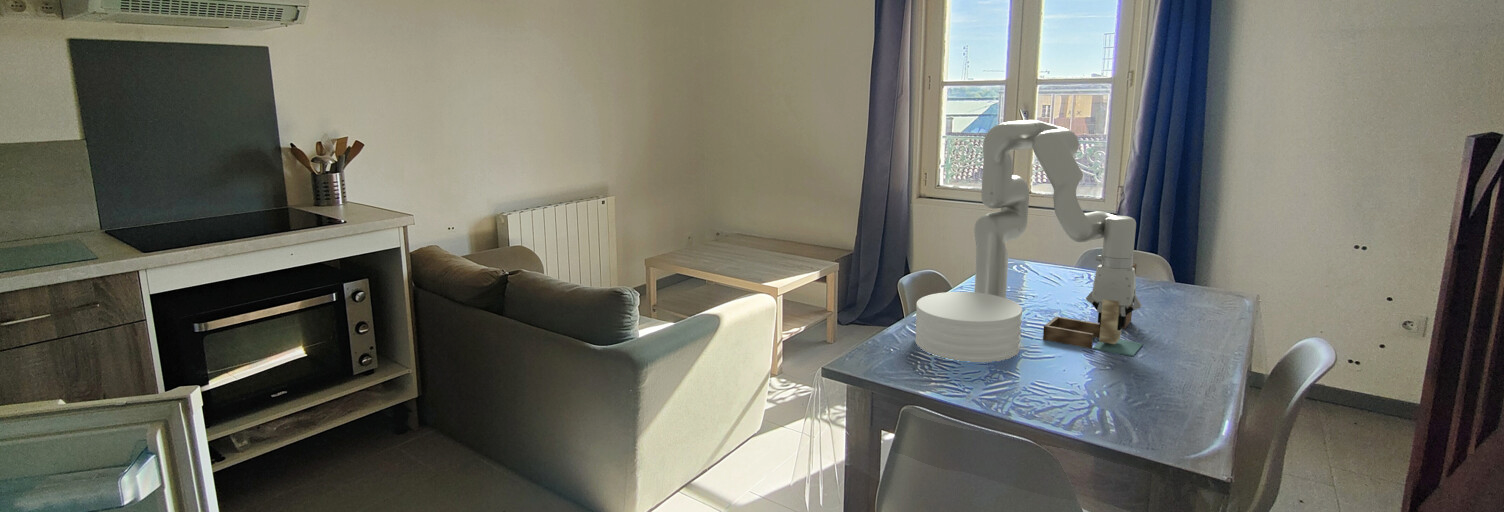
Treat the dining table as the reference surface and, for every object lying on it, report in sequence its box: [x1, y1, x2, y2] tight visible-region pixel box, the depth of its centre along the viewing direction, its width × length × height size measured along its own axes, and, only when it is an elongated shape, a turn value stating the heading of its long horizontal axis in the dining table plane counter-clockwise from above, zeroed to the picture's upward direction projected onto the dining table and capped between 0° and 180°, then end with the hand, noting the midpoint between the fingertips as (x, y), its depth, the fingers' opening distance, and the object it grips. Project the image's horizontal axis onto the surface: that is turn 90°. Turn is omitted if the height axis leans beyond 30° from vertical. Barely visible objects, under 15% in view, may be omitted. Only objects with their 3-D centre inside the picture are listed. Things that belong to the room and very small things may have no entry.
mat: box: [1092, 338, 1144, 357], centre depth 212 cm, size 10×11×1 cm
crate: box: [1042, 315, 1100, 350], centre depth 219 cm, size 13×11×4 cm
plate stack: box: [914, 291, 1023, 363], centre depth 215 cm, size 28×28×12 cm
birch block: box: [1098, 299, 1122, 344], centre depth 212 cm, size 4×6×12 cm, turn 142°
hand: (1111, 326), depth 213 cm, fingers closed on birch block, 4 cm apart
